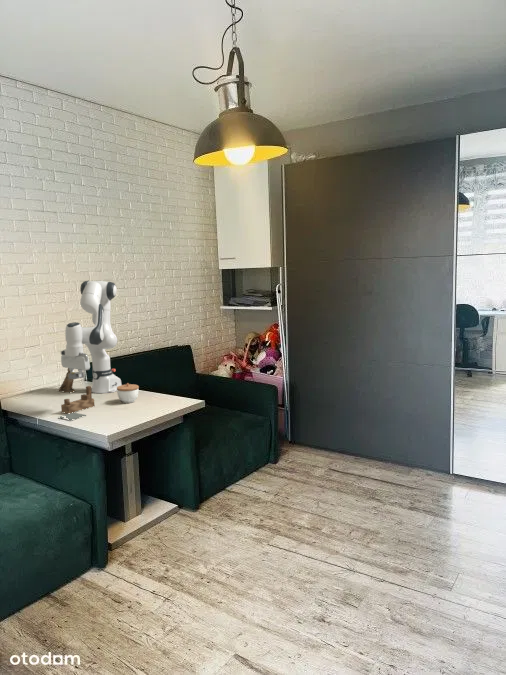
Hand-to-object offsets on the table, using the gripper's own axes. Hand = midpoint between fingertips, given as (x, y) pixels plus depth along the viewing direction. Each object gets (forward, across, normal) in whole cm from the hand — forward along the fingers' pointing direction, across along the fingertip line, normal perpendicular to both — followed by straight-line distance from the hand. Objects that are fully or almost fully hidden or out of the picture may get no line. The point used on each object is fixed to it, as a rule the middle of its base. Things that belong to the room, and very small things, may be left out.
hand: (76, 376), depth 277 cm
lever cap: (+1, 0, 0) cm, 1 cm away
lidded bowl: (+19, -11, -27) cm, 35 cm away
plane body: (+19, 0, 0) cm, 19 cm away
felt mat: (+19, -9, +11) cm, 24 cm away
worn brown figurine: (+19, +43, -24) cm, 53 cm away
